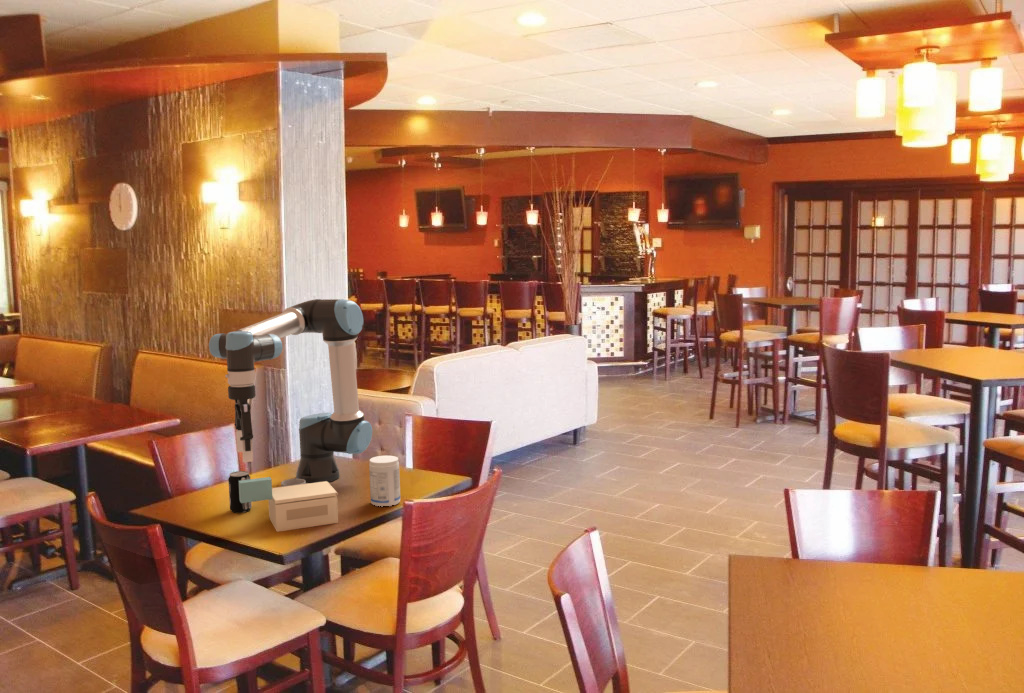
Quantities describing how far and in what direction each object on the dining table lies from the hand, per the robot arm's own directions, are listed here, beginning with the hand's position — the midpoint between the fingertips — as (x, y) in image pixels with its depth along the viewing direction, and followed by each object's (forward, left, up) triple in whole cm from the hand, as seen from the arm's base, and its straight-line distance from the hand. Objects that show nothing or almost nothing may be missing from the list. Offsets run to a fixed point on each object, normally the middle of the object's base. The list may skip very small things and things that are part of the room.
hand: (244, 456), depth 247 cm
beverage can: (-19, 0, -22) cm, 29 cm away
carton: (0, +16, -22) cm, 27 cm away
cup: (-13, +15, -22) cm, 30 cm away
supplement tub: (-5, +43, -22) cm, 49 cm away
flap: (0, +12, -13) cm, 18 cm away
